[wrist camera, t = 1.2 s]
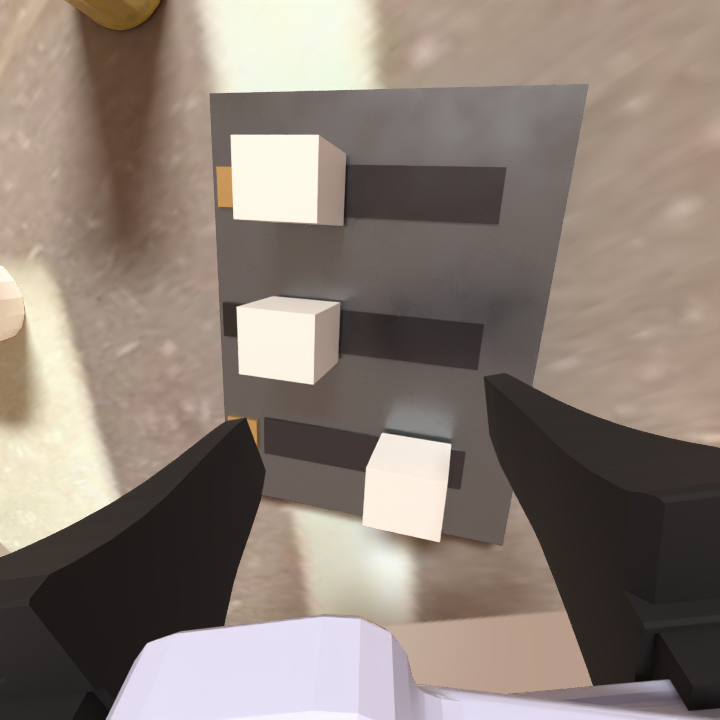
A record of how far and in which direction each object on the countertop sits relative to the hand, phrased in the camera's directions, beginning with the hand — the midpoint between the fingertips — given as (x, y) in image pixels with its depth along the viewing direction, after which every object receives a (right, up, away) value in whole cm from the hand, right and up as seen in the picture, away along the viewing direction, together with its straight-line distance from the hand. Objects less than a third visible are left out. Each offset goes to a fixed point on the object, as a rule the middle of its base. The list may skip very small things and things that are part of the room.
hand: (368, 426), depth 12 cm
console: (0, +4, +10) cm, 11 cm away
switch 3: (+2, -3, +9) cm, 10 cm away
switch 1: (-3, +10, +6) cm, 12 cm away
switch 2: (-3, +4, +8) cm, 10 cm away
